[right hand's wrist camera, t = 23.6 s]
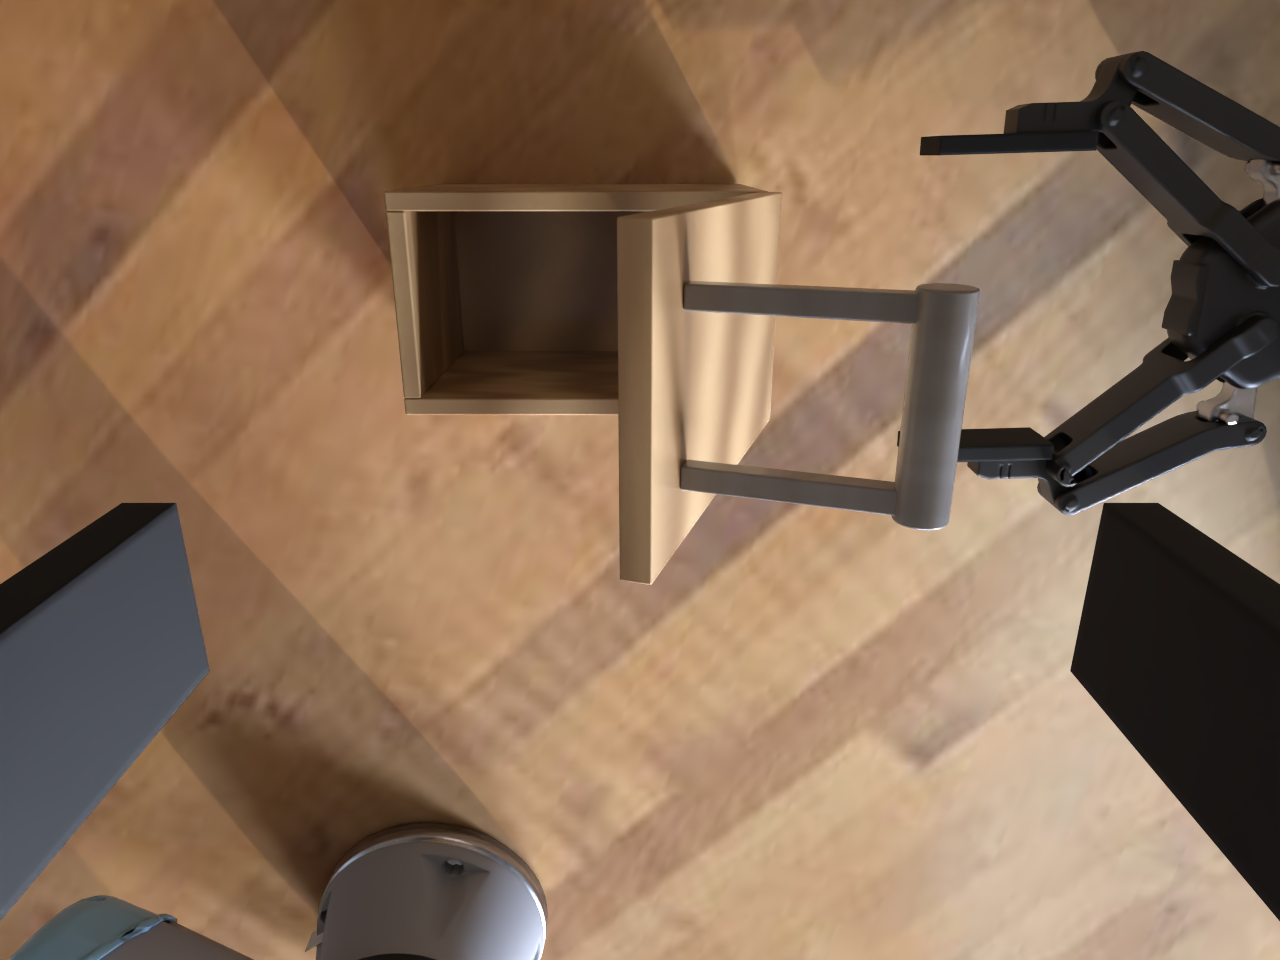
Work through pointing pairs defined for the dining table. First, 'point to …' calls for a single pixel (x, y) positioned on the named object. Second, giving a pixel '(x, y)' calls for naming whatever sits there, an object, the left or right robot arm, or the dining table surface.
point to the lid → (757, 376)
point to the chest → (515, 292)
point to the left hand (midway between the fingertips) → (915, 305)
